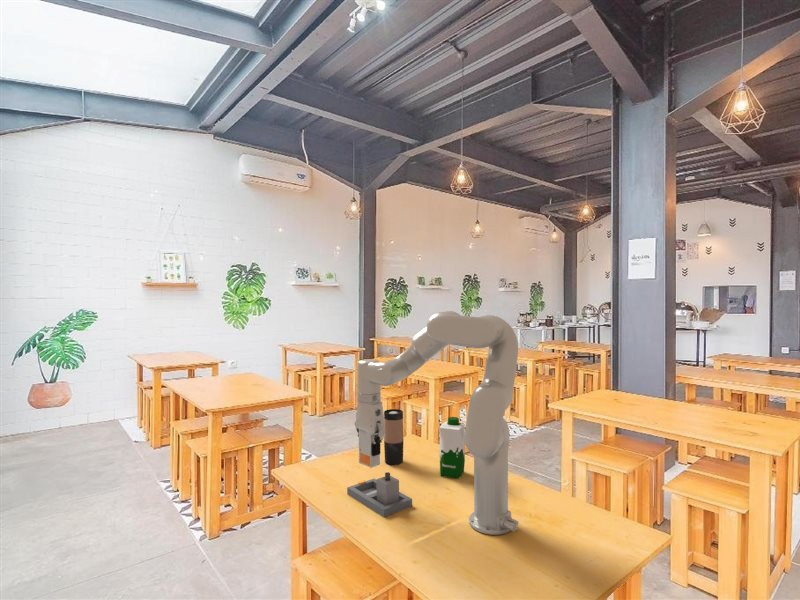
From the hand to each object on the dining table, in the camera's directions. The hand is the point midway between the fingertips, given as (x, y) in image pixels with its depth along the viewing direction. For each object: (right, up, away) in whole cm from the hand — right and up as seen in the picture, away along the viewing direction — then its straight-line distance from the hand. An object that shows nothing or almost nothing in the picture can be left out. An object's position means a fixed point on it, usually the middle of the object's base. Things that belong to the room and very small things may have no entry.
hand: (369, 451), depth 148 cm
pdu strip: (+3, -15, -3) cm, 16 cm away
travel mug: (+8, -14, +30) cm, 34 cm away
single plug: (+6, -14, -7) cm, 17 cm away
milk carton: (+29, -14, +18) cm, 37 cm away
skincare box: (0, -4, 0) cm, 4 cm away
